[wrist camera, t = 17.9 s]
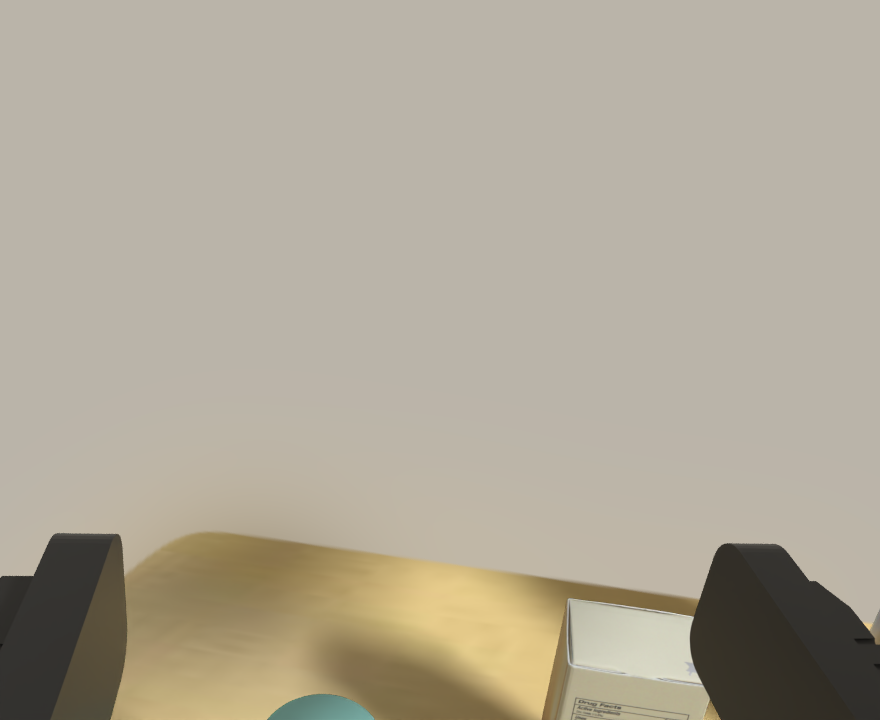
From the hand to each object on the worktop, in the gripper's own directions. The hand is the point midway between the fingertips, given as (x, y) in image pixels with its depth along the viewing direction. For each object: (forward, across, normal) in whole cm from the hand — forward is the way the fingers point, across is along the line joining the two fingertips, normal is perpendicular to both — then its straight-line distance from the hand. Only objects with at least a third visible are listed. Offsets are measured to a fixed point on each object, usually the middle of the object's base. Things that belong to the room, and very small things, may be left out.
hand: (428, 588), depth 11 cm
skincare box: (+17, -13, +30) cm, 37 cm away
